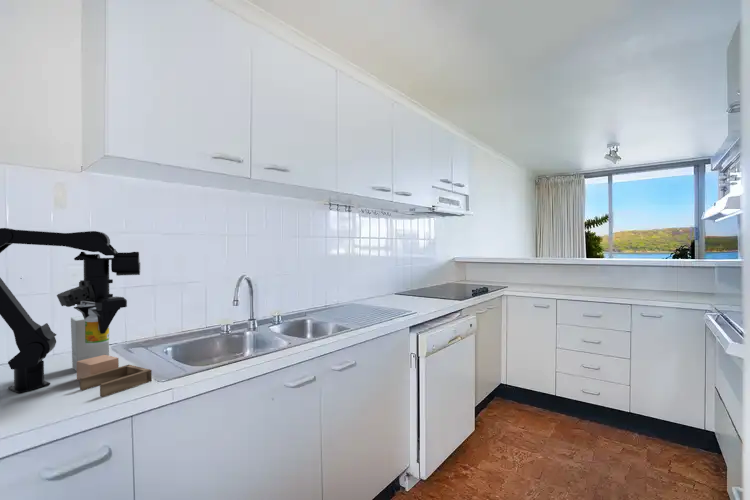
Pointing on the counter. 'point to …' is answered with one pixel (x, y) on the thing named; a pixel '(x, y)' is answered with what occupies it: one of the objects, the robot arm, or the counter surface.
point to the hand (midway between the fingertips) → (97, 332)
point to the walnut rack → (116, 379)
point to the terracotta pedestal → (96, 365)
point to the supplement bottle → (94, 330)
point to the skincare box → (78, 343)
